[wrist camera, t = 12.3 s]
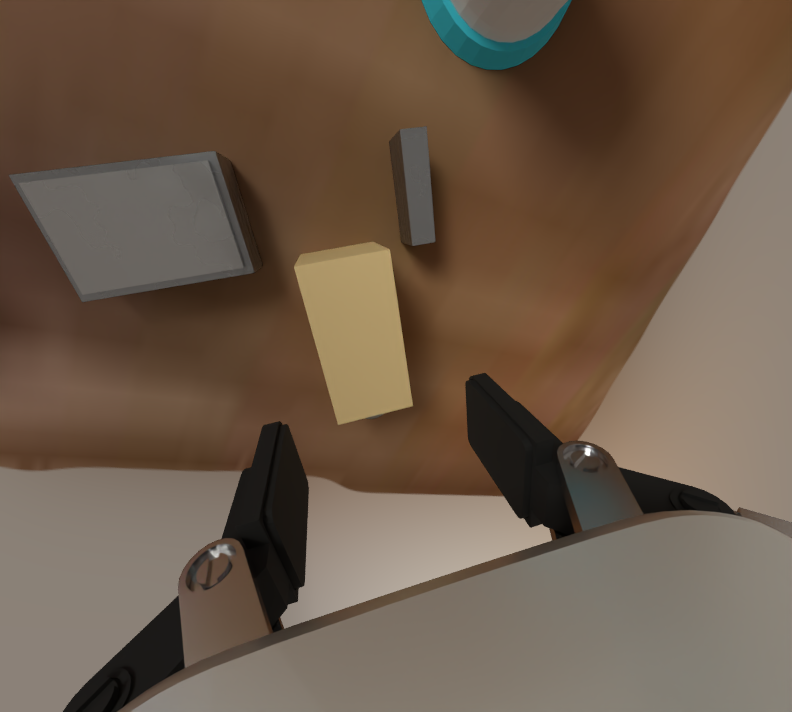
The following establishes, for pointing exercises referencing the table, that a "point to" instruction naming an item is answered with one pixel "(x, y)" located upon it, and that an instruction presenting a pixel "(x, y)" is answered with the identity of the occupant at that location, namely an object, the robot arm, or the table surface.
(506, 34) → the model tower
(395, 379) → the yellow rectangular block
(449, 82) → the table surface
